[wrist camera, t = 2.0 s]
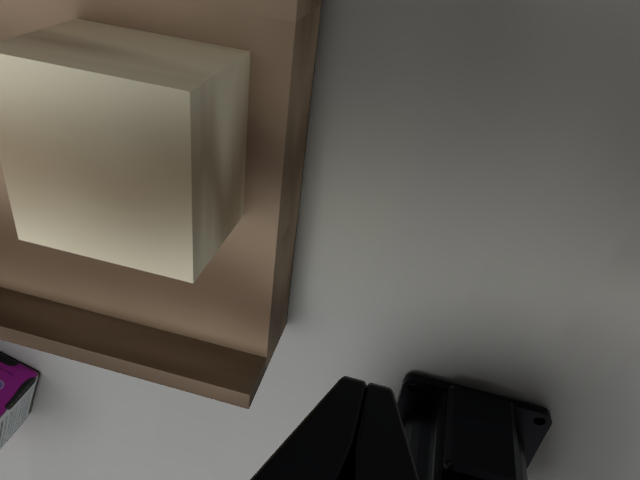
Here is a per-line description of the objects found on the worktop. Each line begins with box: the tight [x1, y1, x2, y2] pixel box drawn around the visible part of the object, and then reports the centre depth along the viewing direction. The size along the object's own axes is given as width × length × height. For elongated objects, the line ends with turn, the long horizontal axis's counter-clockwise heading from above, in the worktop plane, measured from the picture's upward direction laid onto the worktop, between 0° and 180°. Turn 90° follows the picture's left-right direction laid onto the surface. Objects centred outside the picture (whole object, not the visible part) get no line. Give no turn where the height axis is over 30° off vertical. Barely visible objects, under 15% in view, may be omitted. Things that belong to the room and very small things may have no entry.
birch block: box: [0, 19, 251, 283], centre depth 16 cm, size 6×6×4 cm
